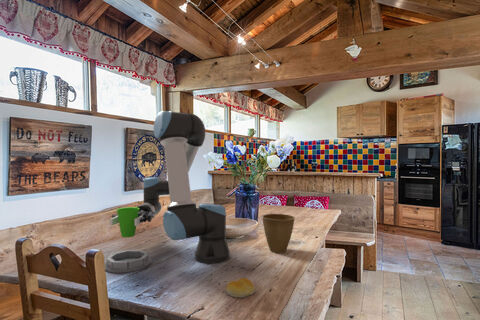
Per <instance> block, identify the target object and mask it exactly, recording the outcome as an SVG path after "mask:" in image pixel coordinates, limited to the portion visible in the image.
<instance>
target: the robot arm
mask: <svg viewBox="0 0 480 320" xmlns="http://www.w3.org/2000/svg"><path fill="white" fill-rule="evenodd" d="M153 123H154V124H153V135H154V137H155V138H156V139H159V143H160V145H161V146H163V147H164V155H165V164H166V173H167V175H166V176H167V180H160V178H159V177H155V176H154V177H153V176H152V177H145V178H144V179H143V183H142V184H143V185H142V186H143V203H142V204H140V205H138V206H136V207H137V208H140V209H139V212H138V217H137V218H136V219H135V226H136V227H138V226H139V225H141V224H142V223H146V222H148V223H149V222H151V221H152V220H153V219H154V218H155V216H157V215H158V214H159V213H160V212H161V210H162V204H161V202H160V196H169V200H170V201H169V204H168V206H167V207H166V209H167V210H166V211H165V212H164V213H163V216H162V225H163V229H164V231H165V234H166V235H167V237H168V238H169V239H171V240H173V241H179V240H181V241H183V240H185V239H191V238H197V237H198V243H197V246H196V248H195V252H194V259H195V261H197V262H200V263H205V264H218V263H222V262H223V263H224V262H226V261H227V260H229V259H230V257H231V252H230V248H229V245H228V242H227V234H226V233H227V228H226V227H227V213H226V212H227V210H226V207H225V206H224V205H222V204H216V203H206V202H205V203H199V204H198V207H197V203H196V202H195V201H194V200H193V199H192V193H191V184H190V179H189V171H190V169H191V167H192V164H193V163H194V160H195V157H196V155H197V153H198V151H199V148H200V147H202V146H203V144H204V142H205V138H206V127H205V124H204V121H202V119H201V118H200V117H199V116H198V115H197V114H194V113H189V112H188V113H187V112H186V113H185V112H179V111H171V110H169V111H168V110H162V111H159V112H158V113H157V115H156V117H155V120H154V122H153ZM117 224H119V219H118V213H116V214H112V216H111V218H110V219H109V225H110V226H111V227H113V226H115V225H117Z"/></svg>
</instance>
